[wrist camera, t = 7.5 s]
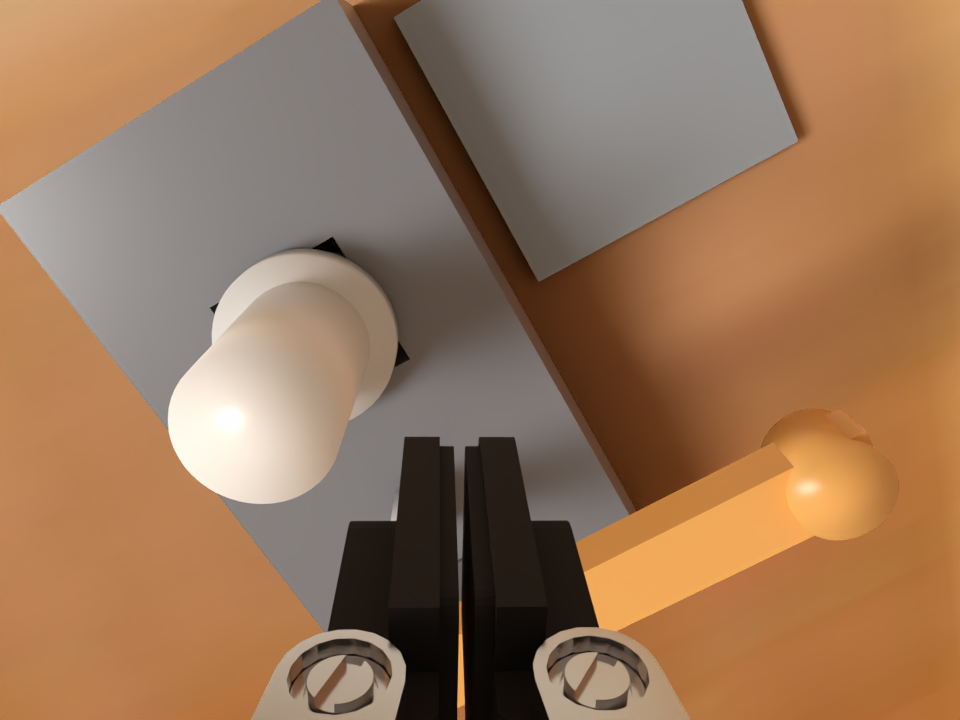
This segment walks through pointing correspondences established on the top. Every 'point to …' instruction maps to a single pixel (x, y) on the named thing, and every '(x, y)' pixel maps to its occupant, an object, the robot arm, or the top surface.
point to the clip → (737, 518)
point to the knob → (283, 375)
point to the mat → (598, 108)
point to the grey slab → (303, 225)
